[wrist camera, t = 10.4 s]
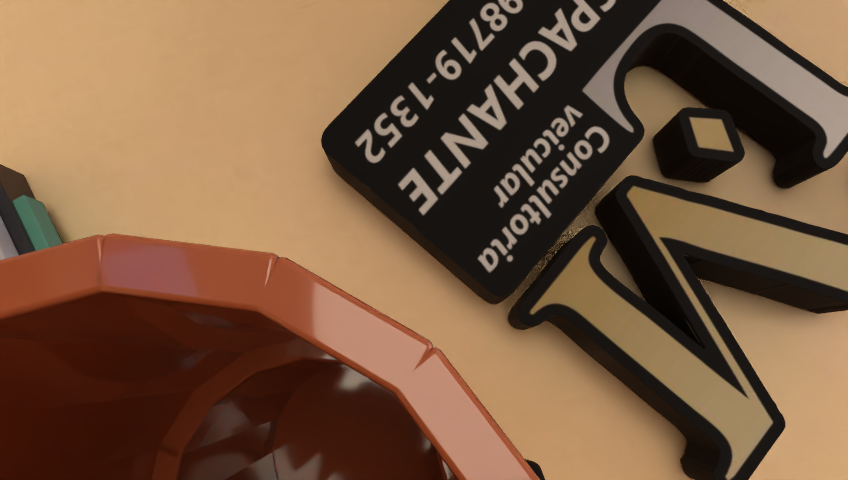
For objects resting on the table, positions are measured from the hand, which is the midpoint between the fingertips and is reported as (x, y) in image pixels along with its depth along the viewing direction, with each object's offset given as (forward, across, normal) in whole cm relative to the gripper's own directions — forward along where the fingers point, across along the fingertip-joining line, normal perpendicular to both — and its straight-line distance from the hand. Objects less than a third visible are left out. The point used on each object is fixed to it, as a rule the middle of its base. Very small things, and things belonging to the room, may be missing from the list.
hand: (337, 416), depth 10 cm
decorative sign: (+18, -7, +1) cm, 19 cm away
